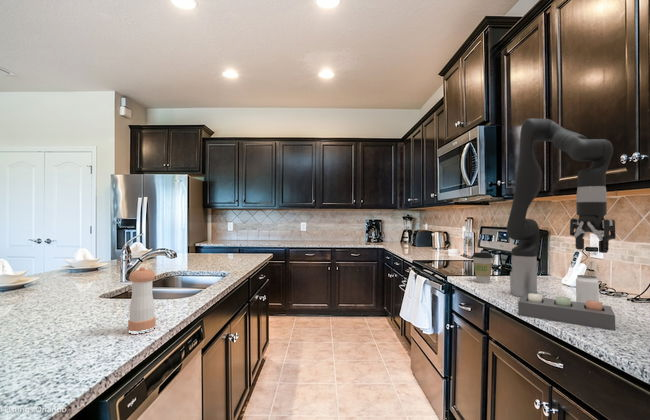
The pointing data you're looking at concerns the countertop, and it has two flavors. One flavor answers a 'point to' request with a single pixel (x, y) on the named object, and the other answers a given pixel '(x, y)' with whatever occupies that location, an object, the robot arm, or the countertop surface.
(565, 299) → the button sage
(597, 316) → the panel
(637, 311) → the countertop surface
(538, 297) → the button cream
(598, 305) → the button terracotta
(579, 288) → the grey block
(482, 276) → the coffee cup
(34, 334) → the countertop surface
